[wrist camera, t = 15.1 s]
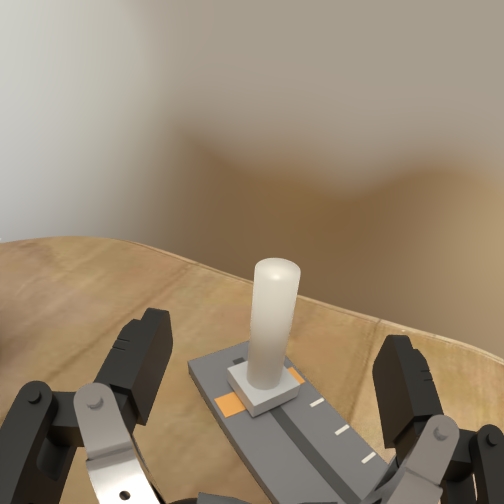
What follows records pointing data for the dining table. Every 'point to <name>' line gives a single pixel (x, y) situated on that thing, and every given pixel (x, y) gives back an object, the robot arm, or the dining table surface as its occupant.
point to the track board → (290, 438)
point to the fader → (268, 339)
